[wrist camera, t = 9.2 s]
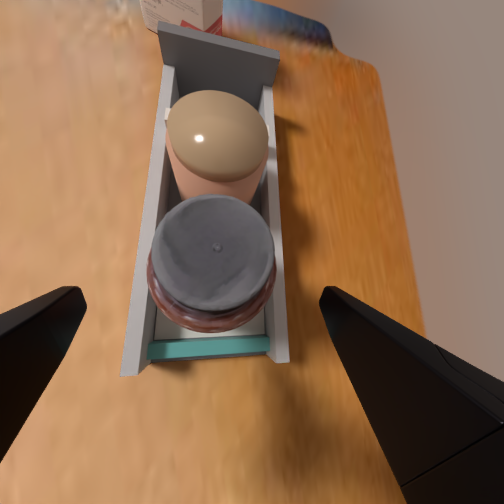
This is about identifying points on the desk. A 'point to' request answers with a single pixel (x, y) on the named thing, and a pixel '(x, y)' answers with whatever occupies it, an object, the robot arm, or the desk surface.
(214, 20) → the ink cartridge box
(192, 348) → the pusher lane
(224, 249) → the supplement bottle
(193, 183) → the terracotta jar
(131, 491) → the desk surface
